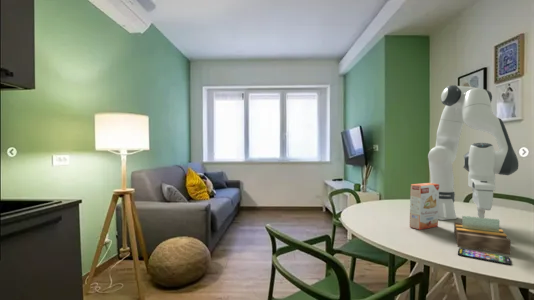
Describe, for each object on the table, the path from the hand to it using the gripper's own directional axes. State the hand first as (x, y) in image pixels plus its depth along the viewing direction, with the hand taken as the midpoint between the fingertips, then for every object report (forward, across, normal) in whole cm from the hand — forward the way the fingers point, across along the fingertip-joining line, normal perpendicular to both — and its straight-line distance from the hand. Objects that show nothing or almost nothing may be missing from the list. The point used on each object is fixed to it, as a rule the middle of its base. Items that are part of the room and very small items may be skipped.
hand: (481, 216), depth 118 cm
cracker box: (+11, -14, -20) cm, 27 cm away
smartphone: (+11, +18, -2) cm, 21 cm away
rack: (+10, 0, 0) cm, 11 cm away
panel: (+10, 0, 0) cm, 10 cm away
